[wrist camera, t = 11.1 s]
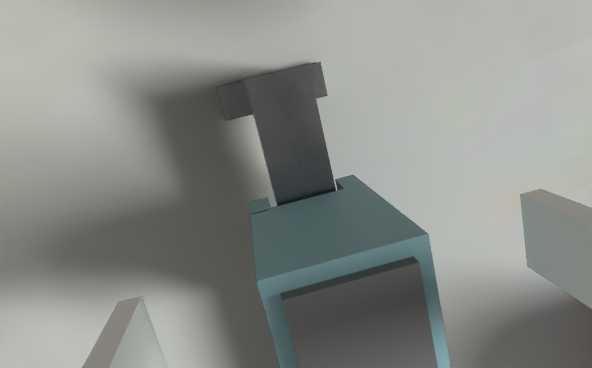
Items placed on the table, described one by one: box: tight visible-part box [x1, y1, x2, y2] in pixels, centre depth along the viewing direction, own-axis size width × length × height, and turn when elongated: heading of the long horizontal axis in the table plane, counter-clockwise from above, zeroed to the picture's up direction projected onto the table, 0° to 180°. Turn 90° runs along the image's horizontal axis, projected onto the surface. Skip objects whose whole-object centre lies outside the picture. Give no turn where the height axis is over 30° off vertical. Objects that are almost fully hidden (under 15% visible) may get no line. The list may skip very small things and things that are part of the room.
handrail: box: [216, 62, 336, 206], centre depth 21 cm, size 20×5×5 cm, turn 13°
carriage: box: [249, 175, 451, 368], centre depth 15 cm, size 5×5×8 cm
